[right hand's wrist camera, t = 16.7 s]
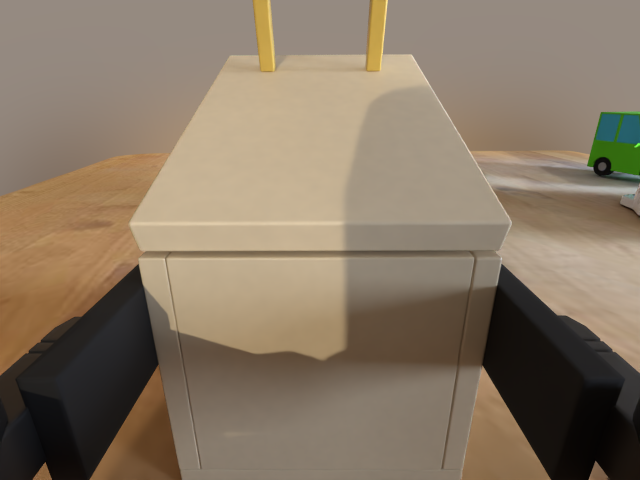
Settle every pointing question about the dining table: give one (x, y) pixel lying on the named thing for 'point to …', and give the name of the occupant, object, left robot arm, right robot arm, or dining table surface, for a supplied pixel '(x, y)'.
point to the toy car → (616, 144)
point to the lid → (320, 160)
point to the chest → (320, 360)
